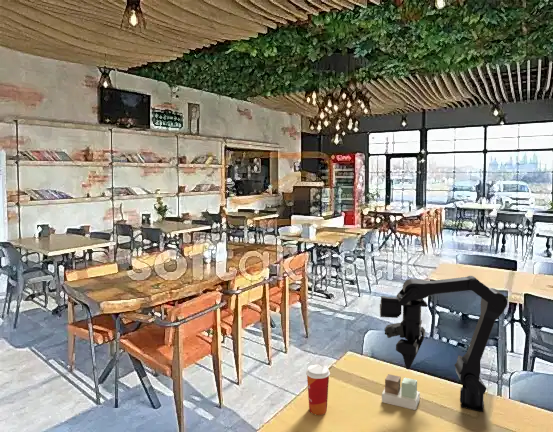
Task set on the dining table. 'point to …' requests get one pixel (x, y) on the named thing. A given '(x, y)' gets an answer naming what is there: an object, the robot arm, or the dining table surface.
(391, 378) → the walnut cube
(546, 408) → the dining table surface
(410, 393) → the sage cube
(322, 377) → the paper cup
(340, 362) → the dining table surface
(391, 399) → the base slab
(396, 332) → the robot arm
